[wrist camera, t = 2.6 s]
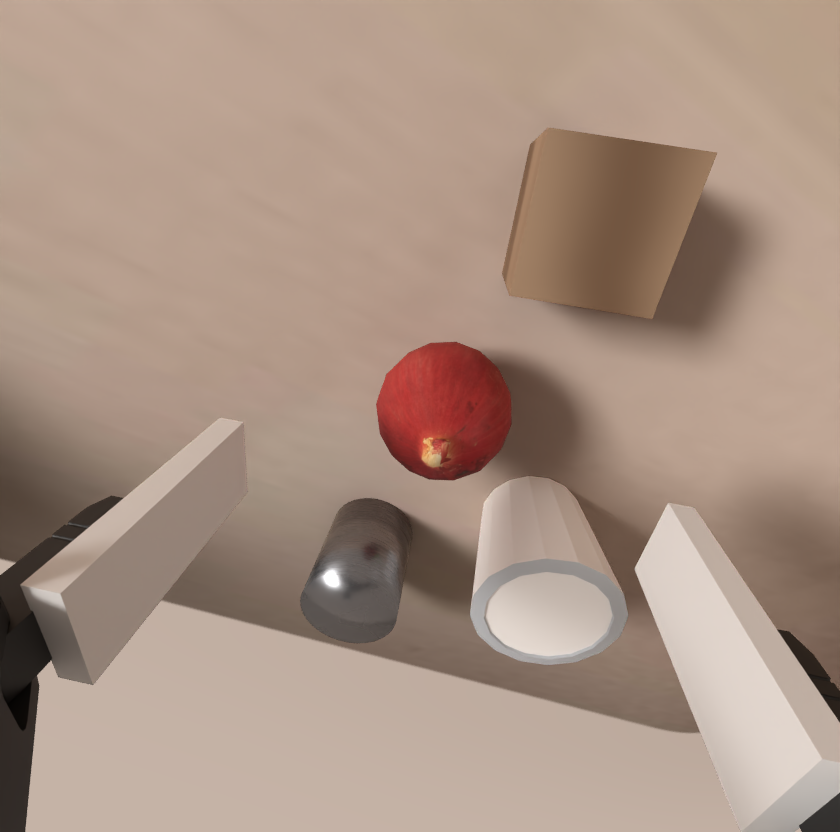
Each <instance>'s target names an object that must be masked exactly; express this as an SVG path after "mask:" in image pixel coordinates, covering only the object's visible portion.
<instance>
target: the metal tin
mask: <svg viewBox="0 0 840 832" xmlns="http://www.w3.org/2000/svg"><path fill="white" fill-rule="evenodd" d="M411 539H412V528H411V525H410V522H409V520H408V519H407V517H406V516H405V515H404V514H403V513H402V512H401V511H400V510H399V509H398V508H397V507H395V506H393V505H392V504H390V503H388V502H385V501H382V500H378V499H372V498H364V499H357V500H354V501H351V502H349V503H347V504H346V505H344V506H343V507H342V508H341V509H340V510H339V511H338V513H337V515H336V517H335V519H334V521H333V524H332V526H331V528H330V531H329V533H328V535H327V537H326V540H325V542H324V544H323V547H322V549H321V551H320V553H319V556H318V558H317V560H316V563H315V565H314V567H313V569H312V572H311V574H310V576H309V579H308V581H307V583H306V585H305V588H304V590H303V592H302V595H301V601H300V602H301V608H302V611H303V614H304V616H305V617H306V619H307V620H308V621H309V622H310V624H312V625H313V626H314V627H315V628H316V629H317V630H319V631H320V632H322V633H323V634H325V635H327V636H329V637H331V638H334V639H337V640H340V641H344V642H350V643H368V642H373V641H376V640H379V639H381V638H383V637H385V636H386V635H387V634H389V633H390V632H391V630H392V629H393V628H394V626H395V623H396V619H397V614H398V609H399V603H400V598H401V593H402V587H403V582H404V577H405V571H406V566H407V561H408V555H409V550H410V545H411Z"/></svg>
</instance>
